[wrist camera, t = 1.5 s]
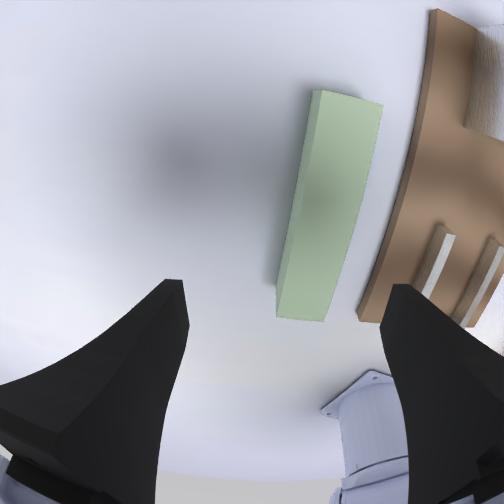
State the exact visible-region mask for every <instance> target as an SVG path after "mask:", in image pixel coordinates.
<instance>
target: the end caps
mask: <svg viewBox="0 0 504 504" xmlns="http://www.w3.org/2000/svg"><path fill="white" fill-rule="evenodd" d="M463 128H466V129H468V130H470V131H472V132H475V133H478V134H481V135H484V136H487V137H490V138H493V139H496V140H498V141H501V142H504V24H503V25H495V26H488V27H481V28H476V32H475V48H474V59H473V69H472V77H471V84H470V91H469V98H468V104H467V109H466V115H465V120H464V125H463ZM455 237H456V235H455V234H454V233H453V232H452V231H451V230H450V229H449V228H448V227H447V226H446V225H442V224H438V223H436V226H435V229H434V231H433V234H432V237H431V239H430V242H429V245H428V247H427V250H426V253H425V255H424V258H423V260H422V263H421V265H420V267H419V270H418V272H417V275H416V277H415V279H414V282H413V284H412V287H414V288H415V289H416V290H418V291H419V292H420V293H421V294H423V295H424V296H425V297H426V298H427V299H429V297H430V295H431V293H432V290H433V288H434V286H435V284H436V282H437V280H438V278H439V275H440V273H441V271H442V269H443V266H444V264H445V262H446V259H447V257H448V255H449V252H450V250H451V247H452V245H453V242H454V240H455ZM503 253H504V245H502V244H501V243H500V242H499V241H498V240H497V239H496V238H493V237H490V236H489V237H488V239H487V242H486V244H485V247H484V249H483V252H482V254H481V256H480V259H479V261H478V263H477V265H476V267H475V270H474V272H473V274H472V276H471V278H470V280H469V282H468V284H467V286H466V288H465V290H464V292H463V294H462V296H461V298H460V300H459V302H458V304H457V306H456V308H455V309H454V311H453V313H452V315H451V317H450V318H451V319H452V320H453V321H455V322H456V323H457V324H458V325H459V326H461V327H462V328H463V329H465V327H466V325H467V324H468V322H469V320H470V319H471V317H472V315H473V313H474V312H475V310H476V308H477V306H478V304H479V303H480V301H481V299H482V297H483V295H484V293H485V291H486V289H487V287H488V285H489V283H490V281H491V279H492V277H493V275H494V273H495V271H496V269H497V267H498V265H499V262H500V260H501V258H502V256H503Z"/></svg>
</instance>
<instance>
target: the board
mask: <svg viewBox="0 0 504 504" xmlns="http://www.w3.org/2000/svg"><path fill="white" fill-rule="evenodd" d="M475 32H476V28H474V27H472V26H471V25H469V24H467V23H465V22H463V21H461V20H460V19H458V18H456V17H454V16H452V15H450V14H448V13H446V12H444V11H442V10H440V9H438V8H437V9H435V10H432V11H430V20H429V32H428V43H427V52H426V60H425V67H424V75H423V81H422V88H421V94H420V99H419V105H418V110H417V116H416V121H415V126H414V130H413V135H412V140H411V144H410V148H409V153H408V157H407V161H406V165H405V169H404V173H403V177H402V180H401V184H400V188H399V191H398V195H397V199H396V202H395V205H394V209H393V212H392V215H391V219H390V222H389V225H388V228H387V231H386V235H385V238H384V241H383V244H382V247H381V250H380V252H379V255H378V258H377V261H376V264H375V267H374V269H373V272H372V275H371V278H370V280H369V283H368V286H367V288H366V291H365V293H364V296H363V299H362V301H361V304H360V306H359V309H358V311H357V315H358V319H359V322H371V323H381V321H382V318H383V315H384V312H385V309H386V306H387V303H388V299H389V296H390V293H391V289H392V286H393V284H410V285H411V286H412V284H413V282H414V279H415V277H416V275H417V272H418V270H419V267H420V265H421V263H422V260H423V258H424V255H425V253H426V250H427V247H428V245H429V242H430V239H431V237H432V234H433V231H434V229H435V226H436V223H438V224H442V225H446V226H447V227H448V228H449V229H450V230H451V231H452V232H453V233H454V234H455V235H456V237H455V240H454V242H453V245H452V247H451V250H450V252H449V255H448V257H447V259H446V262H445V264H444V266H443V269H442V271H441V273H440V275H439V278H438V280H437V282H436V284H435V286H434V288H433V290H432V293H431V295H430V297H429V300H430V301H431V302H432V303H433V304H434V305H436V306H437V307H438V308H439V309H440V310H441V311H443V312H444V313H445V314H446V315H447V316H448V317H451V315H452V313H453V311H454V309H455V308H456V306H457V304H458V302H459V300H460V298H461V296H462V294H463V292H464V290H465V288H466V286H467V284H468V282H469V280H470V278H471V276H472V274H473V272H474V270H475V267H476V265H477V263H478V261H479V259H480V256H481V254H482V252H483V249H484V247H485V244H486V242H487V239H488V237H489V236H490V237H493V238H496V239H497V240H498V241H499V242H500V243H501V244H502V245H504V142H501V141H498V140H496V139H493V138H490V137H487V136H484V135H481V134H478V133H475V132H472V131H470V130H468V129H466V128H463V125H464V120H465V115H466V109H467V104H468V98H469V91H470V84H471V77H472V69H473V59H474V48H475ZM503 273H504V253H503V256H502V258H501V260H500V262H499V265H498V267H497V269H496V271H495V273H494V275H493V277H492V279H491V281H490V283H489V285H488V287H487V289H486V291H485V293H484V295H483V297H482V299H481V301H480V303H479V304H478V306H477V308H476V310H475V312H474V313H473V315H472V317H471V319H470V320H469V322H468V324H467V325H466V327H474V326H475V325H476V323H477V321H478V320H479V318H480V316H481V315H482V313H483V311H484V309H485V308H486V306H487V304H488V302H489V300H490V299H491V297H492V295H493V293H494V291H495V289H496V287H497V285H498V283H499V281H500V279H501V277H502V275H503Z"/></svg>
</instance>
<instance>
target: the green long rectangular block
mask: <svg viewBox="0 0 504 504" xmlns="http://www.w3.org/2000/svg"><path fill="white" fill-rule="evenodd" d="M382 109H383V105H381V104H378V103H374V102H371V101H367V100H363V99H360V98H356V97H352V96H348V95H344V94H339V93H335V92H331V91H326V90H313V92H312V98H311V104H310V110H309V116H308V122H307V128H306V133H305V139H304V145H303V150H302V156H301V161H300V167H299V172H298V178H297V183H296V188H295V194H294V199H293V204H292V209H291V214H290V219H289V225H288V230H287V235H286V240H285V244H284V249H283V254H282V259H281V264H280V269H279V274H278V278H277V283H276V317H281V318H290V319H299V320H308V321H317V322H324V319H325V317H326V314H327V311H328V308H329V305H330V302H331V299H332V296H333V294H334V291H335V288H336V285H337V282H338V279H339V275H340V272H341V269H342V266H343V263H344V260H345V257H346V253H347V250H348V247H349V243H350V240H351V237H352V233H353V230H354V226H355V223H356V219H357V216H358V212H359V208H360V205H361V201H362V197H363V193H364V189H365V185H366V181H367V177H368V173H369V169H370V165H371V161H372V156H373V152H374V148H375V143H376V138H377V134H378V129H379V124H380V119H381V114H382Z"/></svg>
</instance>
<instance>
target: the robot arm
mask: <svg viewBox="0 0 504 504" xmlns="http://www.w3.org/2000/svg"><path fill="white" fill-rule="evenodd" d="M189 326H190V324H189V319H188V313H187V307H186V301H185V295H184V288H183V282H182V280H174V279H165V280H164V281H162V282H161V283H160V284H159V285H158V286H157V287H156V288H154V289H153V290H152V291H151V292H150V293H149V294H148V295H147V296H146V297H145V298H144V299H142V300H141V301H140V302H139V303H138V304H137V305H136V306H135V307H134V308H132V309H131V310H130V311H129V312H128V313H127V314H126V315H124V316H123V317H122V318H121V319H119V320H118V321H117V322H116V323H115V324H113V325H112V326H111V327H110V328H108V329H107V330H106V331H105V332H103V333H102V334H101V335H99V336H98V337H97V338H95V339H94V340H92V341H91V342H89V343H88V344H86V345H85V346H83V347H82V348H80V349H79V350H77V351H75V352H74V353H72V354H70V355H68V356H67V357H65V358H63V359H61V360H60V361H58V362H56V363H54V364H52V365H50V366H48V367H46V368H44V369H42V370H40V371H37V372H35V373H33V374H31V375H28V376H26V377H23V378H21V379H18V380H15V381H12V382H9V383H6V384H3V385H0V444H1V445H2V446H3V447H5V448H6V449H7V450H8V451H9V452H10V453H11V454H13V456H12V458H11V461H9V460H8V459H6V458H5V457H3V456H2V455H0V504H155V487H156V475H157V466H158V457H159V450H160V443H161V436H162V430H163V425H164V419H165V413H166V409H167V405H168V402H169V398H170V395H171V392H172V389H173V386H174V383H175V380H176V377H177V373H178V370H179V367H180V364H181V361H182V358H183V355H184V351H185V347H186V342H187V337H188V331H189ZM379 328H380V333H381V338H382V343H383V348H384V353H385V356H386V359H387V362H388V365H389V368H390V371H391V374H392V377H390V376H387V375H384V374H381V373H378V372H376V371H369V372H367V373H366V374H365V375H364V376H363V377H361V378H360V379H359V380H358V381H357V382H355V383H354V384H353V385H352V386H351V387H349V388H348V389H347V390H346V391H345V392H343V393H342V394H341V395H340V396H338V397H337V398H336V399H335V400H333V401H332V402H331V403H329V404H328V405H327V406H326V407H324V408H323V409H322V410H321V411H320V413H321V415H324V416H328V417H332V418H336V419H339V421H340V429H341V437H342V445H343V453H344V462H345V471H346V478H342V479H341V480H342V487H339V488H337V489H336V490H335V492H334V493H333V495H332V496H331V498H330V502H329V504H504V357H503V356H502V355H500V354H498V353H497V352H495V351H494V350H492V349H491V348H489V347H488V346H486V345H485V344H483V343H482V342H480V341H479V340H478V339H476V338H475V337H473V336H472V335H471V334H470V333H468V332H467V331H466V330H464V329H463V328H462V327H461V326H459V325H458V324H457V323H456V322H455V321H453V320H452V319H451V318H450V317H448V316H447V315H446V314H445V313H444V312H443V311H441V310H440V309H439V308H438V307H437V306H436V305H434V304H433V303H432V302H431V301H430V300H429V299H427V298H426V297H425V296H424V295H423V294H421V293H420V292H419V291H418V290H416V289H415V288H414V287H412V286H411V285H410V284H393V286H392V289H391V293H390V296H389V299H388V303H387V306H386V309H385V312H384V315H383V318H382V321H381V324H380V327H379Z"/></svg>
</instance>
